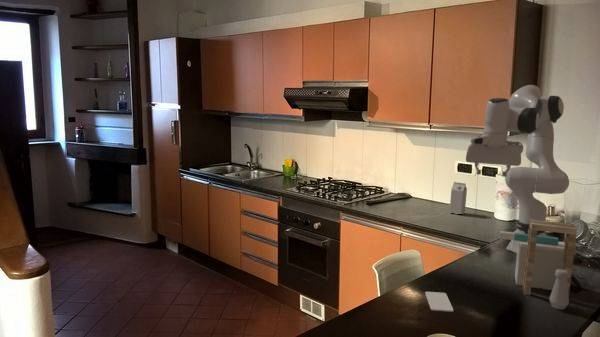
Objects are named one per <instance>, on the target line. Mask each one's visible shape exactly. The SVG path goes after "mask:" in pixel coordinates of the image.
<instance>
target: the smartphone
mask: <svg viewBox="0 0 600 337" xmlns="http://www.w3.org/2000/svg"><path fill="white" fill-rule="evenodd" d="M425 296H426V299H427V302H428V306H429V308H430V310H431V311H433V312H434V311H435V312H449V313H453V312H454V308H453V306H452V304H451V302H450V299H449V297H448V295H447V293H446V292H435V291H425Z"/></svg>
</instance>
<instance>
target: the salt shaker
mask: <svg viewBox="0 0 600 337" xmlns="http://www.w3.org/2000/svg"><path fill="white" fill-rule="evenodd" d="M555 276H556V277H557V278H556V281H555V284H554V287H553V290H551V293H550V295H549V300H548V301H549V302H550V304H551V307H552V308H554V309H555V310H560V311H563V310H565V309H566V308H567V307H568V305H569V304H570V298H569V297H570V295H569V296H568V284H567V279H568V278H569V276H570V273H569V272H568V271H566V270H563V269H557V270H556V271H555Z"/></svg>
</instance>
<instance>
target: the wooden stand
mask: <svg viewBox="0 0 600 337" xmlns="http://www.w3.org/2000/svg"><path fill="white" fill-rule="evenodd" d="M538 230H540V231H546V232H550V233H559V234H565V237H564V242H565V245H564V253H563V262H562V269H563V270H566V271H568V272H569V273H570V276H569V278H568V279H567V284H568V296H569V297H570V289H571V280H572V275H573V274H572V272H573V265H574V257H575V247H576V241H577V231H578V228H577V226H576V225H575V224H574V223H566V222H558V221H548V220H546V221H540V220H531V219H530V224H529V233H528V243H527V252H526V261H525V270H524V280H523V286H522V290H523V296H525V295H527V296H531V291H532V287H531V285H532V276H533V267H534V258H535V249H536V240H537V231H538Z"/></svg>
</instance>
